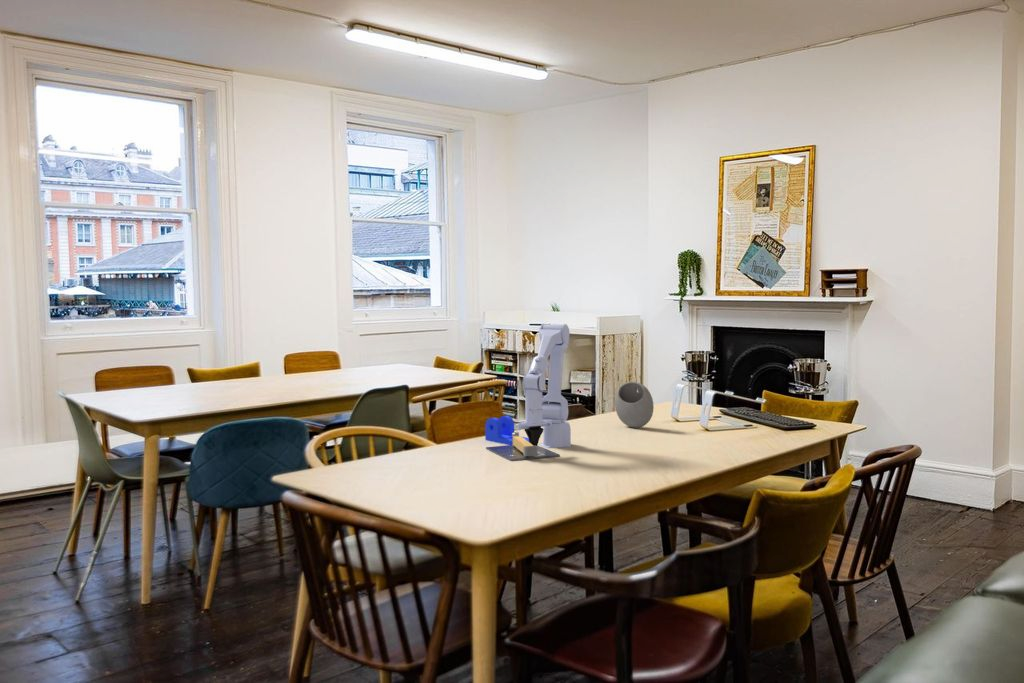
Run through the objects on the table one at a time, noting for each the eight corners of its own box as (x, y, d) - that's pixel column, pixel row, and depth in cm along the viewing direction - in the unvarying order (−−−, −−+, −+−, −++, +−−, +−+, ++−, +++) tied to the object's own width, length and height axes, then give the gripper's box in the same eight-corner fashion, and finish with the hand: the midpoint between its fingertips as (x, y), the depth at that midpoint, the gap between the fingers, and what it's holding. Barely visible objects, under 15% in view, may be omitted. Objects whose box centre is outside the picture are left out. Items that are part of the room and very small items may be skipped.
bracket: (485, 441, 309) (485, 417, 308) (501, 438, 314) (501, 414, 314) (518, 447, 295) (518, 423, 295) (535, 444, 301) (535, 420, 300)
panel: (531, 445, 298) (531, 430, 298) (559, 457, 278) (559, 441, 277) (485, 449, 291) (485, 434, 291) (510, 462, 271) (510, 445, 270)
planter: (610, 426, 339) (610, 380, 338) (620, 424, 345) (620, 379, 343) (647, 431, 327) (648, 384, 325) (657, 429, 332) (658, 382, 330)
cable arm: (510, 444, 292) (510, 436, 291) (522, 444, 293) (522, 436, 292) (524, 456, 272) (524, 447, 272) (537, 455, 273) (537, 446, 273)
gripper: (543, 405, 287) (543, 444, 288) (509, 409, 278) (509, 449, 279) (556, 408, 281) (556, 447, 282) (522, 412, 273) (522, 452, 274)
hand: (533, 448), depth 280 cm, fingers closed
